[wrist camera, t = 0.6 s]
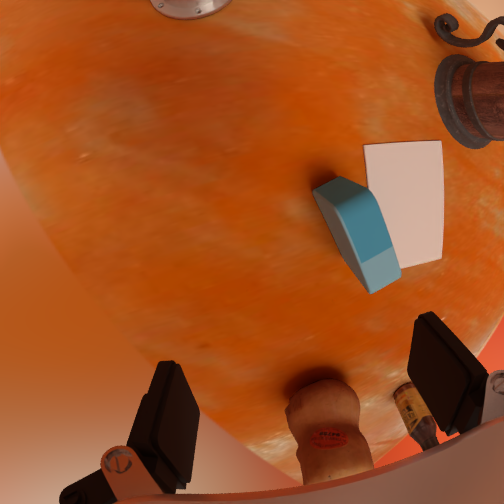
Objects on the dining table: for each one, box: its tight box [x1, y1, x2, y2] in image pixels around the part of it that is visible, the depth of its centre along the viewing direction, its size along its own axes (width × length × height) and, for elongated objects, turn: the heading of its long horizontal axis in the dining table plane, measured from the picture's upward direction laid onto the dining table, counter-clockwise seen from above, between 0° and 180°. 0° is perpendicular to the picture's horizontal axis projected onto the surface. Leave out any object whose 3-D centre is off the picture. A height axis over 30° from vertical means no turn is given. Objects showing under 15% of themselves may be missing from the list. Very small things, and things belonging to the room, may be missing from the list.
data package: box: [312, 176, 401, 294], centre depth 35 cm, size 12×4×12 cm, turn 29°
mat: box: [363, 141, 444, 269], centre depth 40 cm, size 20×14×1 cm
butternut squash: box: [285, 379, 374, 485], centre depth 42 cm, size 14×13×25 cm
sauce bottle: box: [394, 383, 439, 451], centre depth 47 cm, size 6×6×20 cm
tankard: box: [434, 13, 504, 149], centre depth 23 cm, size 24×17×20 cm
